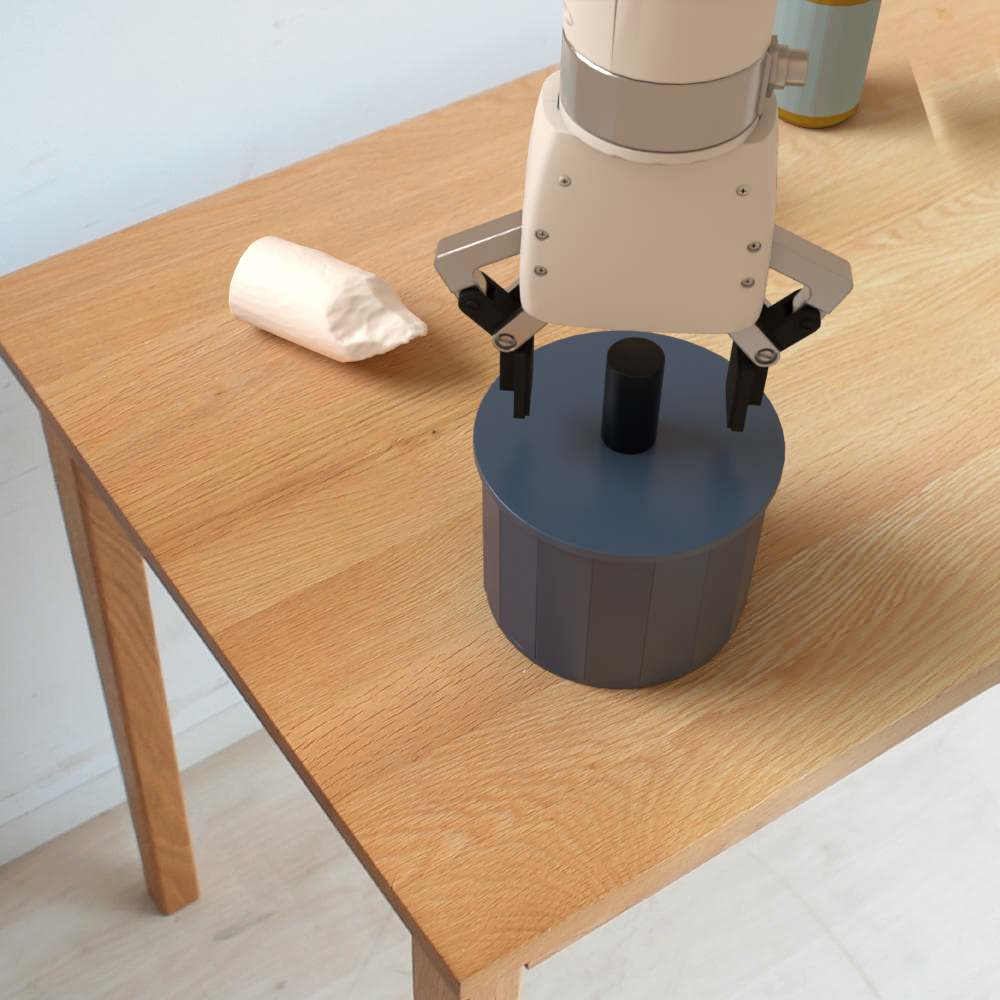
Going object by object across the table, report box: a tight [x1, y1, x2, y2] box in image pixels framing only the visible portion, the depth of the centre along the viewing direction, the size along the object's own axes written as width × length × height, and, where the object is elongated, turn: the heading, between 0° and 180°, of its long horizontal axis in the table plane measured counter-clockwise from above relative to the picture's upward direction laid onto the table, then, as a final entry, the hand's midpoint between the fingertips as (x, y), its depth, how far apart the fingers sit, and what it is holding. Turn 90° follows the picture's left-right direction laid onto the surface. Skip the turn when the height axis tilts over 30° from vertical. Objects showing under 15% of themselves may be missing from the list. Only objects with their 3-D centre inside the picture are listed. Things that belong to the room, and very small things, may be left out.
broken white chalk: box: [228, 235, 429, 363], centre depth 86 cm, size 6×12×6 cm, turn 59°
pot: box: [481, 482, 767, 690], centre depth 72 cm, size 14×14×10 cm
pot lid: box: [472, 329, 786, 564], centre depth 66 cm, size 15×15×6 cm
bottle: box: [772, 0, 883, 129], centre depth 99 cm, size 7×7×15 cm
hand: (628, 403), depth 66 cm, fingers open, 9 cm apart
